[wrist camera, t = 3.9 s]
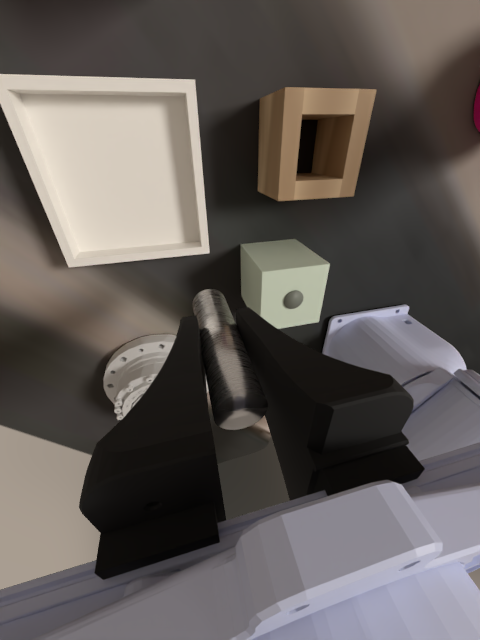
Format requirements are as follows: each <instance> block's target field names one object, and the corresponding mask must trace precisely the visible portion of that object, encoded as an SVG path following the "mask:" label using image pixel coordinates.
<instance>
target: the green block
mask: <svg viewBox="0 0 480 640" xmlns="http://www.w3.org/2000/svg"><path fill="white" fill-rule="evenodd" d="M240 246H241V296H242V298H243V300H244V302H245V304H246V306H247V307H249V308H251V309H252V310H253V311H254V312H256V313H257V314H258V315H259V316H261V317H262V318H263V319H265V320H266V321H267V322H269V323H270V324H271V325H273V326H274V327H275V328H277V329H280V328H285V327H291V326H297V325H303V324H309V323H315V322H319V318H320V313H321V308H322V302H323V297H324V292H325V287H326V282H327V276H328V271H329V266H330V264H329V263H328V262H327V261H325V260H324V259H322V258H321V257H320V256H318V255H317V254H315V253H314V252H313V251H311V250H310V249H308V248H307V247H306V246H304V245H303V244H301V243H300V242H299V241H297V240H296V239H289V240H279V241H269V242H258V243H248V244H240Z"/></svg>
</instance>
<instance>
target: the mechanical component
mask: <svg viewBox="0 0 480 640" xmlns="http://www.w3.org/2000/svg"><path fill="white" fill-rule="evenodd" d="M175 339H176V336H175V335H171V334H162V335H149V336H144V337H140V338H138V339H135V340H133V341H131V342H128V343H126V344H125V345H124V346H122V347H121V348H120V349H119V350H117V351H116V352H115V353H114V354H113V356H112V357H111V359H110V360H109V362H108V363H107V365H106V370H105V374H104V379H103V382H104V390H105V392H106V395H107V396H108V398H109V399H110V400H111V401H112V402H113V404H115V409H114V412H115V413H117V419H118V420H122V419H123V418H124V417H125V416H126V414H127V413H128V412H129V411H130V410H131V409H132V408H133V406H134V405H135V404H136V403H137V402H138V401H139V399H140V398H141V397H142V396H143V394H144V393H145V392H146V390H147V389H148V388H149V386H150V385H151V383H152V382H153V381H154V379H155V378H156V376H157V374H158V373H159V371H160V370H161V368H162V366H163V364H164V363H165V361H166V359H167V357H168V355H169V353H170V351H171V348H172V346H173V344H174V341H175ZM206 388H207V392H208V391H209V390H208V385H207V379H206Z"/></svg>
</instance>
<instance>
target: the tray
mask: <svg viewBox="0 0 480 640" xmlns="http://www.w3.org/2000/svg"><path fill="white" fill-rule="evenodd" d="M0 104H1V107H2V109H3V111H4V114H5V116H6V119H7V121H8V123H9V126H10V128H11V130H12V133H13V135H14V138H15V140H16V142H17V145H18V147H19V150H20V152H21V154H22V157H23V159H24V162H25V164H26V166H27V169H28V171H29V174H30V176H31V178H32V181H33V183H34V185H35V188H36V190H37V193H38V195H39V197H40V200H41V202H42V205H43V207H44V209H45V212H46V214H47V217H48V219H49V221H50V224H51V226H52V229H53V231H54V233H55V236H56V238H57V241H58V243H59V245H60V248H61V250H62V252H63V255H64V257H65V260H66V262H67V264H68V267H78V266H88V265H98V264H108V263H118V262H128V261H138V260H148V259H158V258H168V257H177V256H187V255H197V254H207V253H210V252H209V240H208V229H207V217H206V205H205V193H204V181H203V169H202V158H201V146H200V134H199V122H198V110H197V98H196V86H195V80H188V79H154V78H119V77H84V76H49V75H14V74H0Z"/></svg>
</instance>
